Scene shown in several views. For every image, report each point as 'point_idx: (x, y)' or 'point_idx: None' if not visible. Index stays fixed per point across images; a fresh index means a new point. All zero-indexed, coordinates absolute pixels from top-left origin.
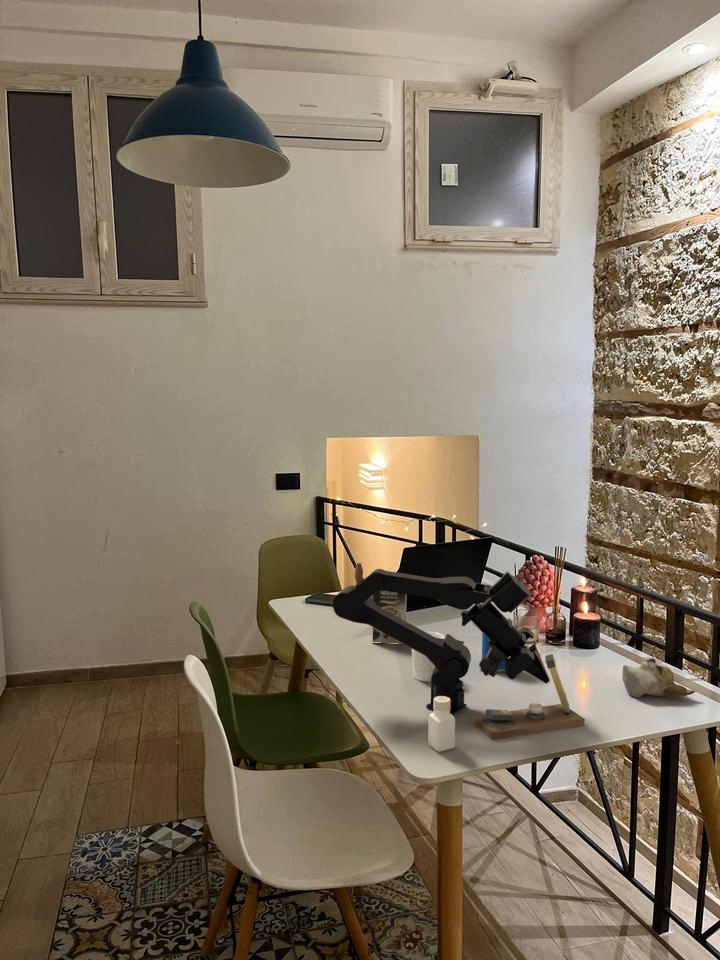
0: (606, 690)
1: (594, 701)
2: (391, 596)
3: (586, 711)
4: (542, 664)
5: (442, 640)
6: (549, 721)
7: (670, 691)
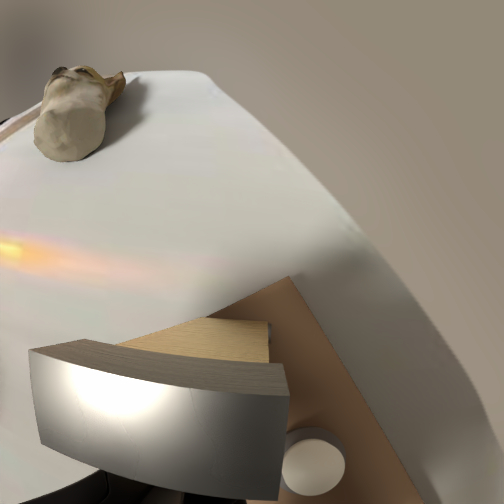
0: (45, 202)
1: (96, 234)
2: None
3: (164, 265)
4: (193, 500)
5: None
6: (345, 407)
7: (117, 90)
